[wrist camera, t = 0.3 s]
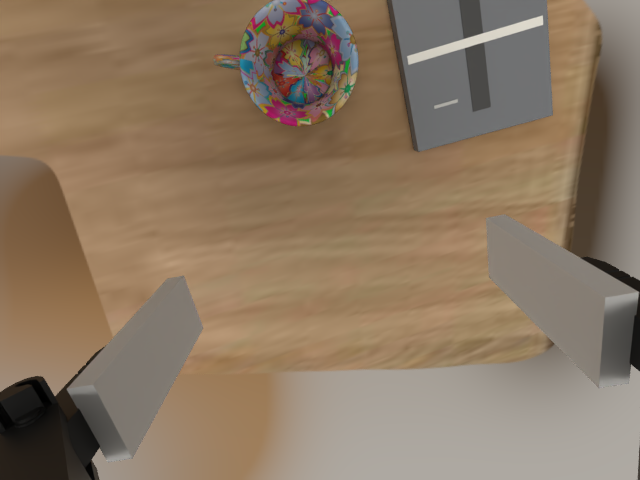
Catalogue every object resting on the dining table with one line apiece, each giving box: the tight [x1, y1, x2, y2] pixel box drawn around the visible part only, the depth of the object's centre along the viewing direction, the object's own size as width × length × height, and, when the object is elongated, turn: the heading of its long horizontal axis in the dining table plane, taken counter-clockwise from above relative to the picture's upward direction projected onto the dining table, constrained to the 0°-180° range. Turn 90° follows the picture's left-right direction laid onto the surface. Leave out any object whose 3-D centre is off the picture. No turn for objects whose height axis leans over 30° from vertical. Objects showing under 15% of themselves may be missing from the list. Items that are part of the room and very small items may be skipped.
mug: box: [214, 0, 358, 126], centre depth 33 cm, size 12×9×11 cm
